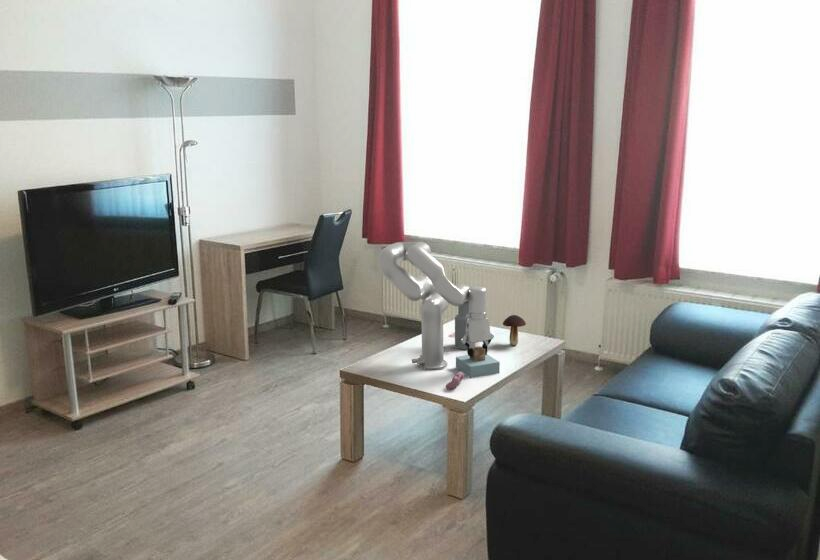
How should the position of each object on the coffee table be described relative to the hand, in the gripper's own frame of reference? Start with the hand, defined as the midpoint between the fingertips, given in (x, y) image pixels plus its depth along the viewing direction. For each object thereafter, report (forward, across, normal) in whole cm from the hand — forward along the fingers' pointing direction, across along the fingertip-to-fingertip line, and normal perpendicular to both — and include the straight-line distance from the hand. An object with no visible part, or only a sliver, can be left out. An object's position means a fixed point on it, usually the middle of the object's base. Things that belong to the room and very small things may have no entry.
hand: (477, 354), depth 321 cm
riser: (+7, 0, 0) cm, 7 cm away
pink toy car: (+7, -17, -12) cm, 22 cm away
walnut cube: (+2, 0, 0) cm, 2 cm away
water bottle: (+7, +10, +31) cm, 33 cm away
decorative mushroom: (+7, +32, +23) cm, 40 cm away
